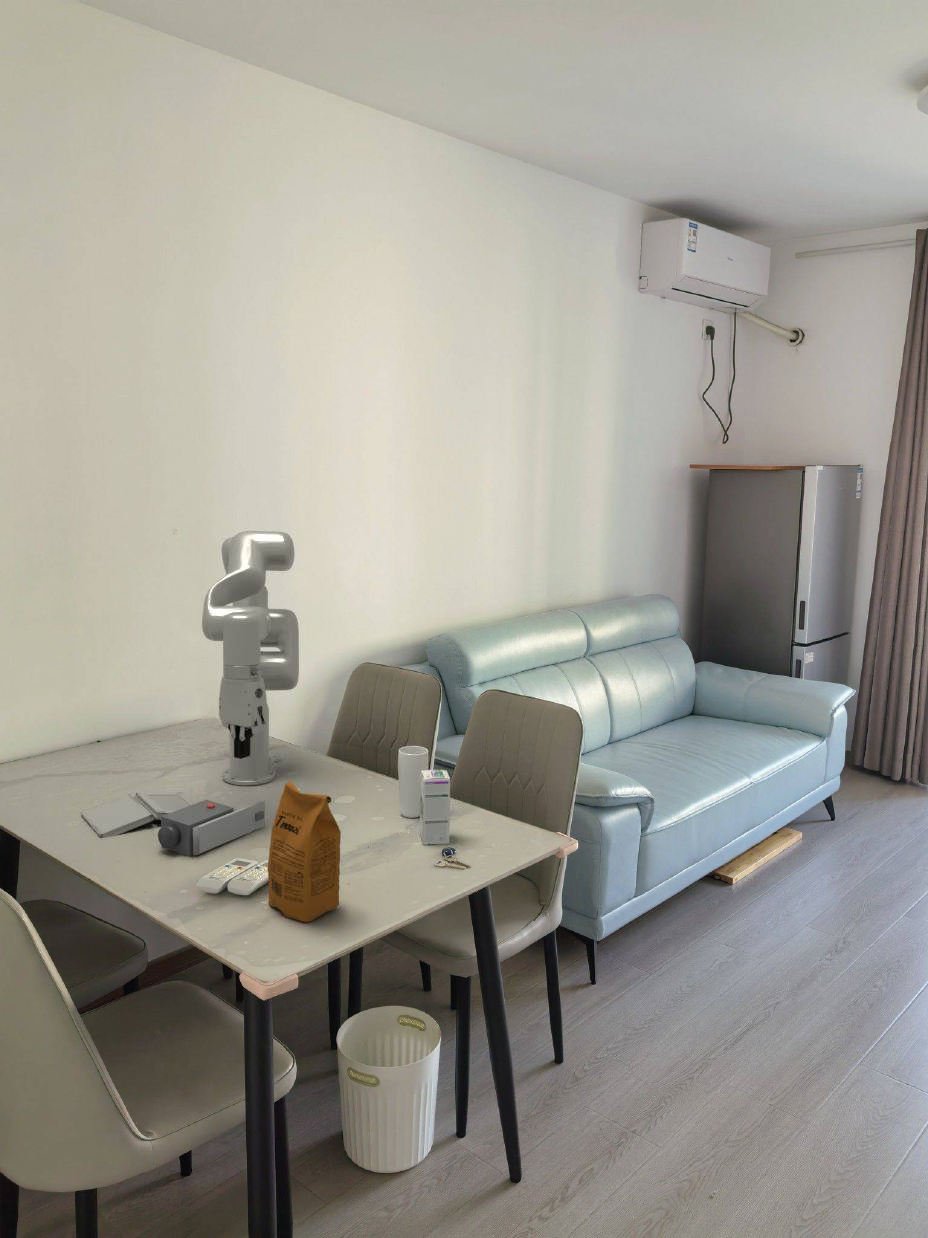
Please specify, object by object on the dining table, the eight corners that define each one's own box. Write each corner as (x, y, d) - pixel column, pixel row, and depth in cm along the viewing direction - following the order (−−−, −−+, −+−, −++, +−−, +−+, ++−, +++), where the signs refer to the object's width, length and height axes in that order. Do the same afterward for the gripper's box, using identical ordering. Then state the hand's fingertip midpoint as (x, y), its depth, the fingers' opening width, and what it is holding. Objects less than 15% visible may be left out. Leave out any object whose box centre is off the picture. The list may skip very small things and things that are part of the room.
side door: (261, 824, 205) (261, 799, 204) (267, 826, 204) (267, 801, 203) (191, 854, 188) (191, 828, 188) (197, 856, 188) (197, 829, 187)
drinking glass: (433, 814, 215) (435, 750, 212) (411, 822, 210) (413, 756, 208) (412, 806, 219) (413, 743, 217) (390, 814, 215) (391, 749, 212)
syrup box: (449, 844, 199) (452, 777, 196) (421, 845, 198) (423, 778, 195) (445, 834, 204) (448, 769, 202) (418, 834, 203) (420, 769, 201)
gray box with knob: (206, 828, 202) (206, 796, 201) (234, 837, 198) (233, 805, 197) (153, 850, 191) (153, 816, 190) (181, 860, 187) (181, 825, 185)
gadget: (100, 841, 196) (100, 824, 195) (80, 818, 208) (79, 802, 207) (207, 820, 209) (207, 803, 209) (182, 799, 221) (182, 784, 220)
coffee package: (303, 887, 177) (304, 773, 173) (347, 909, 169) (349, 790, 165) (258, 904, 170) (258, 785, 166) (302, 928, 161) (302, 804, 158)
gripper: (281, 673, 197) (281, 759, 200) (229, 664, 205) (229, 746, 208) (255, 679, 191) (255, 768, 194) (202, 669, 199) (203, 754, 202)
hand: (242, 756), depth 201 cm, fingers closed
